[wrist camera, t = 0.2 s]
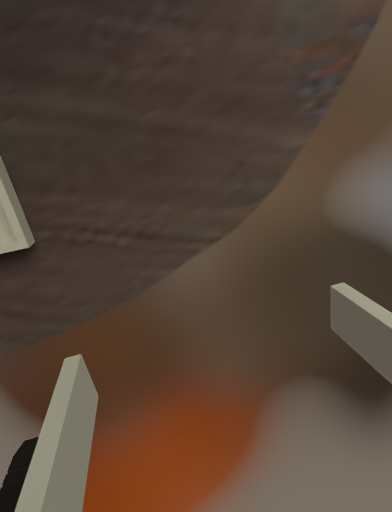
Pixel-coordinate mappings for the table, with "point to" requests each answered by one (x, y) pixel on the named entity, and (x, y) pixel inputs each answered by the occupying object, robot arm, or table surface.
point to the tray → (12, 217)
